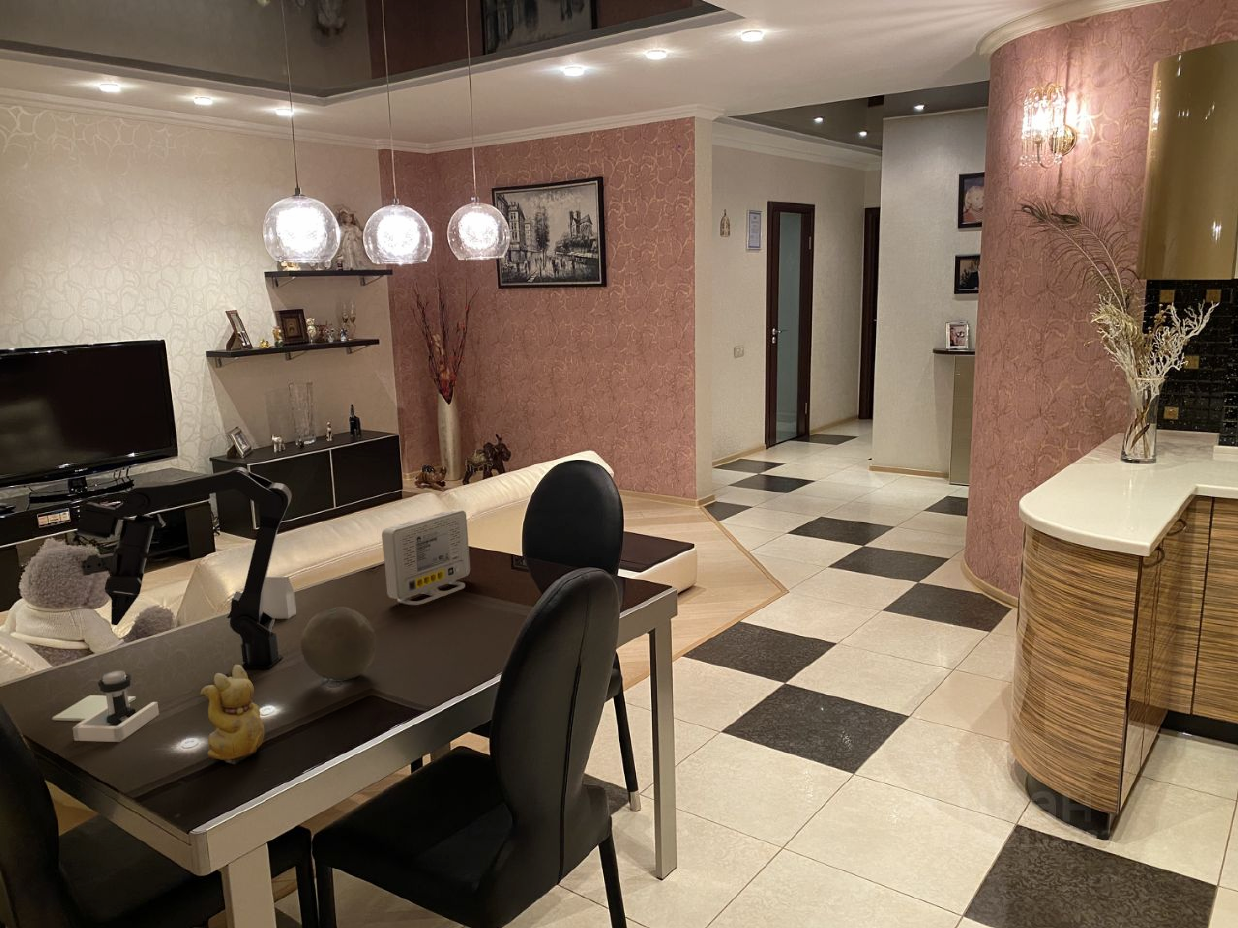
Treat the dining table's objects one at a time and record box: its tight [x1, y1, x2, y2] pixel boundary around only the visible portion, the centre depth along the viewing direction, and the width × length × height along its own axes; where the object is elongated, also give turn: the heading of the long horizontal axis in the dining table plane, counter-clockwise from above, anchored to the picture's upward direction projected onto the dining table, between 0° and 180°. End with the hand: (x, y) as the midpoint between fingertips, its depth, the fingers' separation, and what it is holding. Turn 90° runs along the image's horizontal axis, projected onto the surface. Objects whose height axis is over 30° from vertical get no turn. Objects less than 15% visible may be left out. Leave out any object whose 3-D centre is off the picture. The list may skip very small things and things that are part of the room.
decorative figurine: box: [200, 664, 266, 765], centre depth 155 cm, size 10×8×15 cm
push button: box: [97, 670, 137, 726], centre depth 168 cm, size 7×5×10 cm
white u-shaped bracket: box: [72, 701, 160, 743], centre depth 169 cm, size 9×11×2 cm
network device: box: [381, 508, 471, 606], centre depth 239 cm, size 26×9×20 cm, turn 144°
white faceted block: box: [263, 576, 297, 619], centre depth 227 cm, size 4×7×10 cm, turn 81°
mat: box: [52, 694, 137, 722], centre depth 177 cm, size 10×10×1 cm
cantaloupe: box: [300, 606, 377, 682], centre depth 185 cm, size 14×14×15 cm
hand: (115, 620), depth 186 cm, fingers open, 9 cm apart
